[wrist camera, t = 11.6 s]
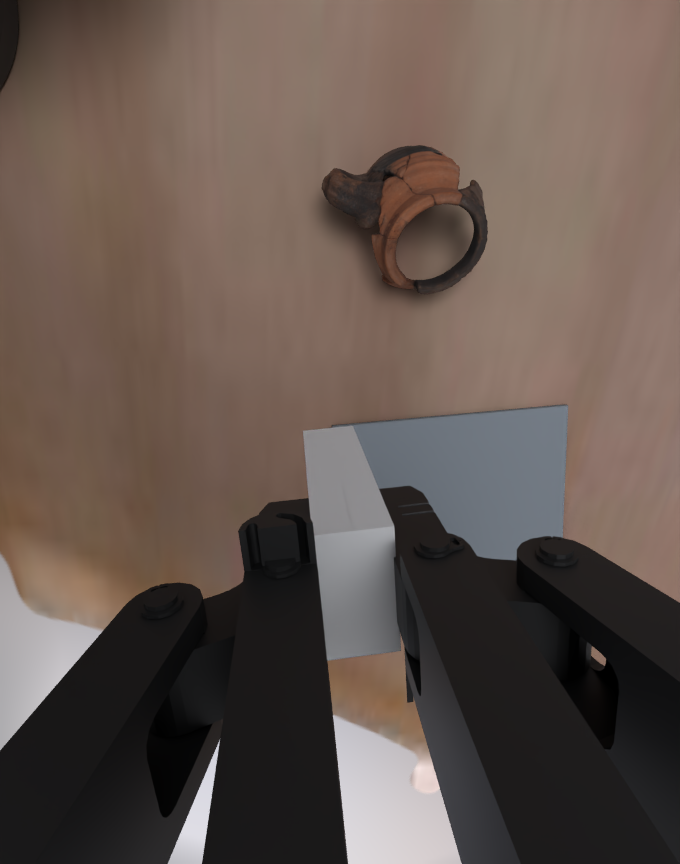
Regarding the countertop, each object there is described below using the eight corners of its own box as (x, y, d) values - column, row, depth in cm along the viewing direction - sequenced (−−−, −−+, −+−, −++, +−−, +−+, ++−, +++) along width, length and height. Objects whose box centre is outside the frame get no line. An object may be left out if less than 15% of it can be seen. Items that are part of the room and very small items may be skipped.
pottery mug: (475, 151, 40) (526, 192, 34) (426, 266, 46) (461, 317, 40) (326, 105, 35) (355, 143, 30) (292, 239, 41) (311, 292, 36)
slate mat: (345, 594, 48) (345, 597, 47) (332, 425, 44) (332, 426, 43) (558, 571, 49) (560, 574, 48) (565, 404, 45) (568, 405, 44)
